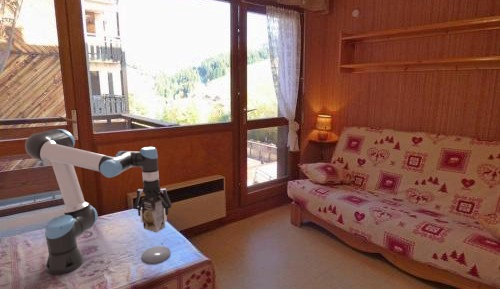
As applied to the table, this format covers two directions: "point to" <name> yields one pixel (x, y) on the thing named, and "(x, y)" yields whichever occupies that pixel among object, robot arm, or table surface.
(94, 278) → the table surface
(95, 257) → the table surface
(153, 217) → the coffee box
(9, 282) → the table surface
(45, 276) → the table surface
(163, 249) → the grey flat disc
